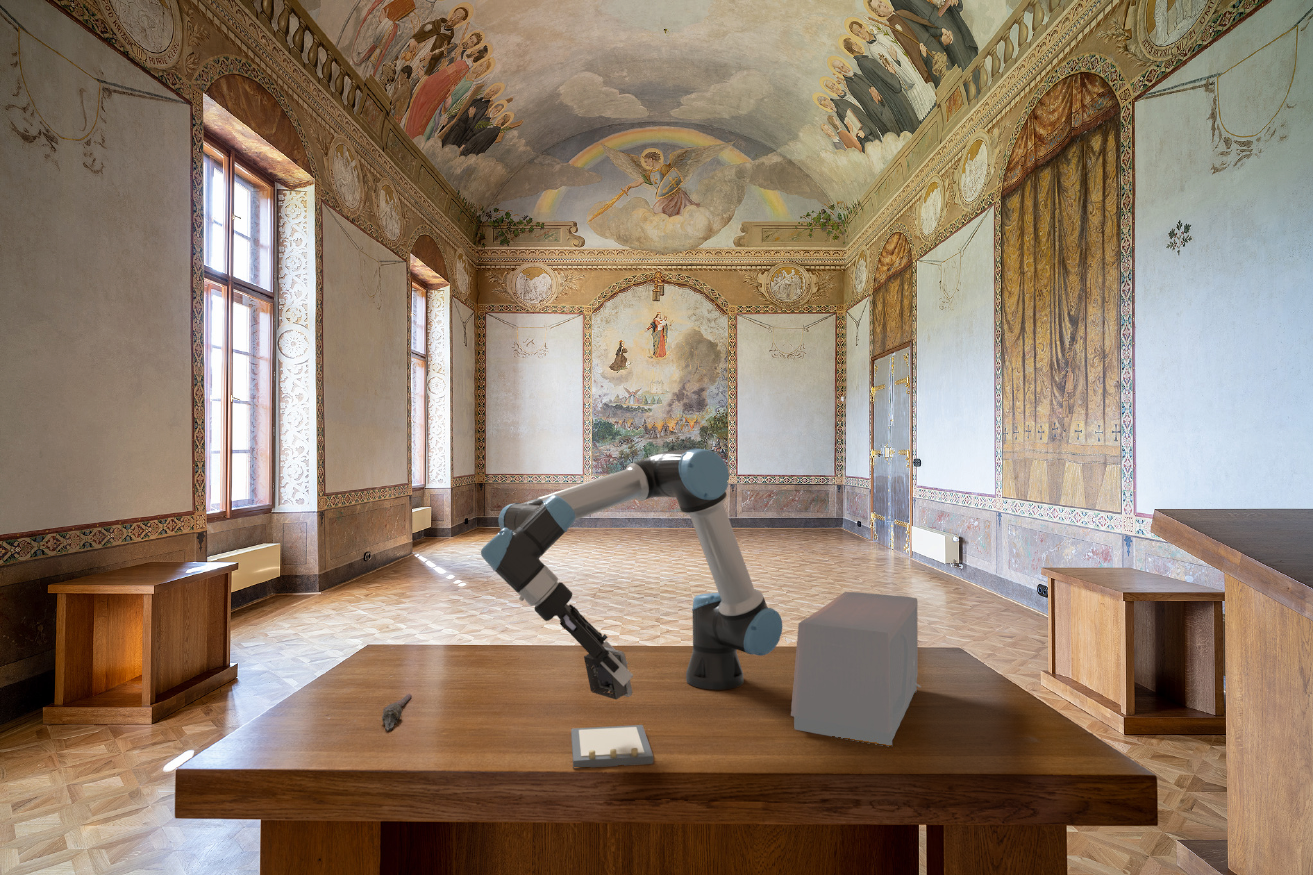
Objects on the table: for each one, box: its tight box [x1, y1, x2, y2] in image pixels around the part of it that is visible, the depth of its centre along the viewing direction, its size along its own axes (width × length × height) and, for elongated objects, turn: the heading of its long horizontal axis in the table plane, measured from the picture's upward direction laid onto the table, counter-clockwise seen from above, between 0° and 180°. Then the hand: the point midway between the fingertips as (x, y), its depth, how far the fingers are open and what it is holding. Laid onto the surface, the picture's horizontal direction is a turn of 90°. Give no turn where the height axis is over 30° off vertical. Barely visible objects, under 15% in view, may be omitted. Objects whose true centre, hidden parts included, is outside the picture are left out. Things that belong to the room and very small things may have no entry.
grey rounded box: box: [790, 591, 922, 746], centre depth 156 cm, size 45×22×24 cm, turn 150°
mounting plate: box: [570, 724, 654, 769], centre depth 133 cm, size 15×16×3 cm
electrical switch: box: [583, 647, 633, 700], centre depth 134 cm, size 9×5×9 cm, turn 46°
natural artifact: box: [381, 693, 413, 732], centre depth 152 cm, size 4×23×4 cm, turn 2°
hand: (625, 673), depth 134 cm, fingers closed on electrical switch, 8 cm apart
